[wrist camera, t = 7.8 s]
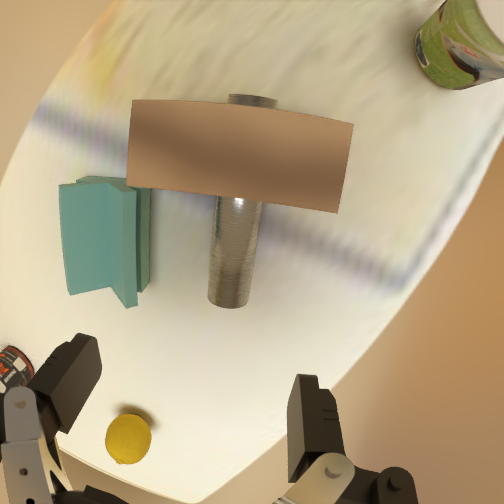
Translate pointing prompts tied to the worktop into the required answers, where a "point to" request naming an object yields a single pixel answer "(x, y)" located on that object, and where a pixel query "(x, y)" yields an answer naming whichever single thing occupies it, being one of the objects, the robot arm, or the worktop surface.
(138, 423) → the lemon
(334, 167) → the brown wooden block
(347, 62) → the worktop surface
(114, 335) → the worktop surface
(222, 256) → the axle
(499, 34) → the beverage can
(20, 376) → the supplement bottle
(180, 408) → the worktop surface
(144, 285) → the v block
